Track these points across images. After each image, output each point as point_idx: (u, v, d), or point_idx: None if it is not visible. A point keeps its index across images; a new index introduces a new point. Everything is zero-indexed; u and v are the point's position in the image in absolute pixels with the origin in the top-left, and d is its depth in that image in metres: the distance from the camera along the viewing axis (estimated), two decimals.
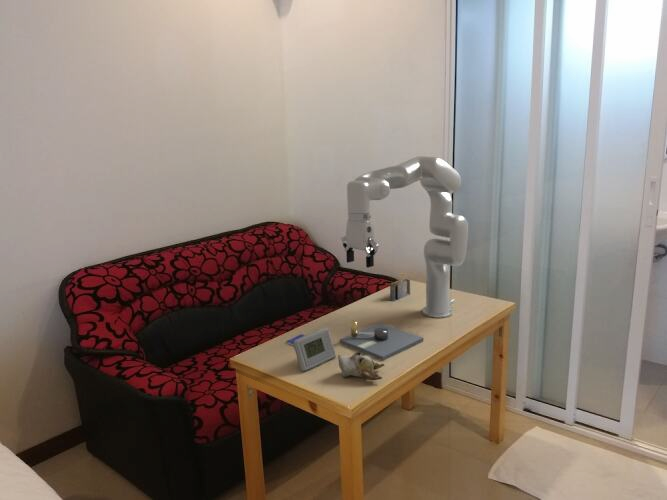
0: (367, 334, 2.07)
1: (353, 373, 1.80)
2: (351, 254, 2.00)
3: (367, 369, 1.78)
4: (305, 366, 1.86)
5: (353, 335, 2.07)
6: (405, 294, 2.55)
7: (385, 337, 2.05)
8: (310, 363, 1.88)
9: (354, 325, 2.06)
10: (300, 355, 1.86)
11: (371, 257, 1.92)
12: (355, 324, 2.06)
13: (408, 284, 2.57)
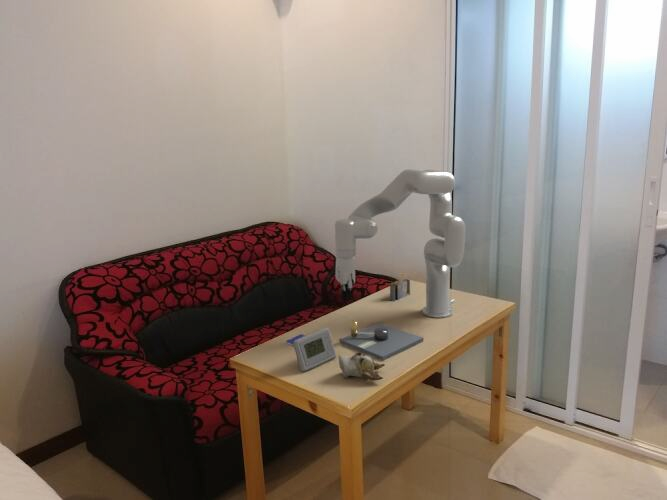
0: (367, 334, 2.07)
1: (354, 373, 1.80)
2: None
3: (368, 370, 1.78)
4: (305, 366, 1.86)
5: (353, 335, 2.07)
6: (405, 294, 2.55)
7: (385, 337, 2.05)
8: (310, 363, 1.88)
9: (354, 325, 2.06)
10: (300, 355, 1.86)
11: None
12: (355, 324, 2.06)
13: (408, 284, 2.57)
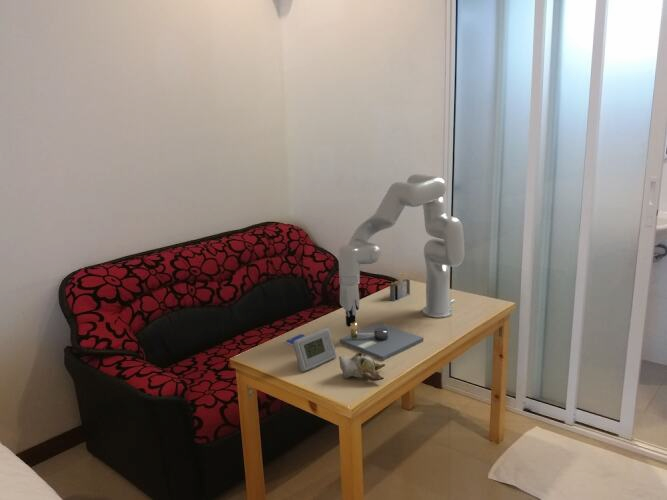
0: (367, 334, 2.07)
1: (355, 374, 1.79)
2: None
3: (369, 370, 1.78)
4: (305, 366, 1.86)
5: (353, 336, 2.06)
6: (405, 294, 2.55)
7: (385, 337, 2.05)
8: (310, 363, 1.88)
9: (354, 326, 2.05)
10: (300, 355, 1.86)
11: None
12: (355, 325, 2.05)
13: (408, 284, 2.57)
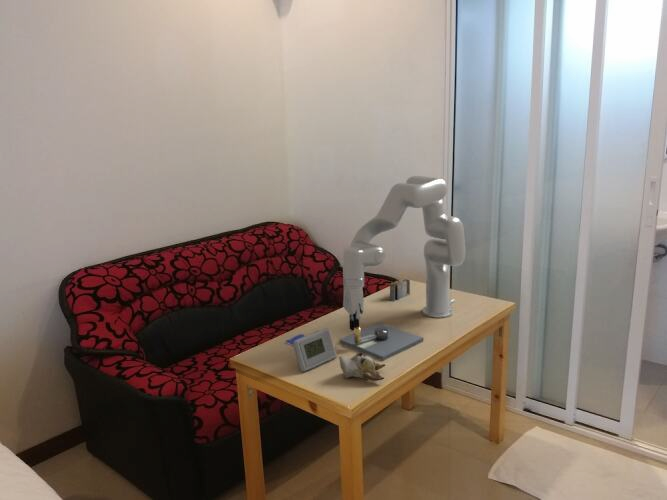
0: (370, 337, 2.04)
1: (355, 374, 1.79)
2: None
3: (369, 370, 1.78)
4: (305, 366, 1.86)
5: (358, 341, 2.02)
6: (405, 294, 2.55)
7: (387, 336, 2.06)
8: (310, 364, 1.87)
9: (359, 331, 2.01)
10: (300, 355, 1.86)
11: None
12: (360, 330, 2.01)
13: (408, 284, 2.57)
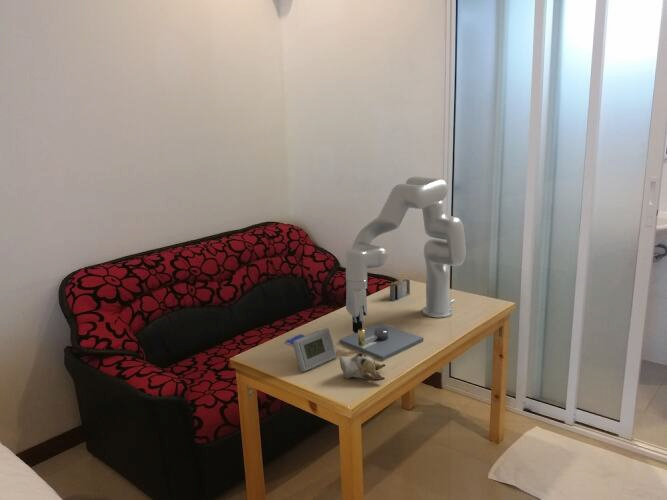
0: (372, 338, 2.03)
1: (355, 374, 1.79)
2: None
3: (369, 370, 1.78)
4: (305, 367, 1.86)
5: (363, 343, 2.00)
6: (405, 294, 2.55)
7: (387, 335, 2.07)
8: (310, 364, 1.87)
9: (364, 333, 1.99)
10: (300, 355, 1.86)
11: None
12: (364, 332, 1.99)
13: (408, 284, 2.57)
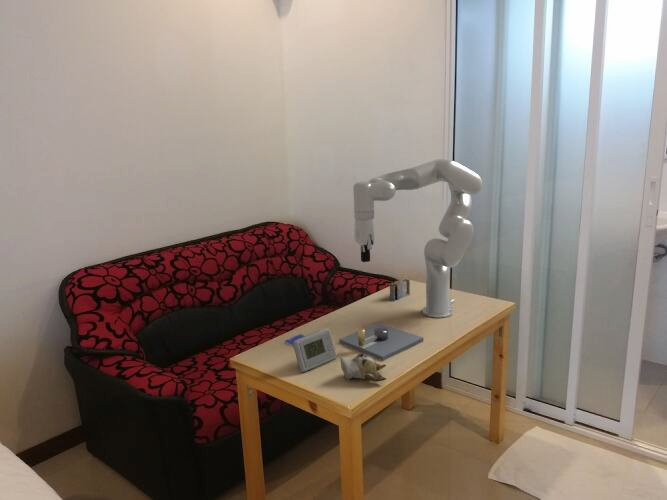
0: (372, 338, 2.03)
1: (356, 375, 1.78)
2: None
3: (370, 371, 1.77)
4: (304, 367, 1.86)
5: (363, 343, 2.00)
6: (405, 294, 2.55)
7: (387, 335, 2.07)
8: (310, 364, 1.87)
9: (364, 333, 1.99)
10: (299, 356, 1.86)
11: None
12: (364, 332, 1.99)
13: (408, 284, 2.57)
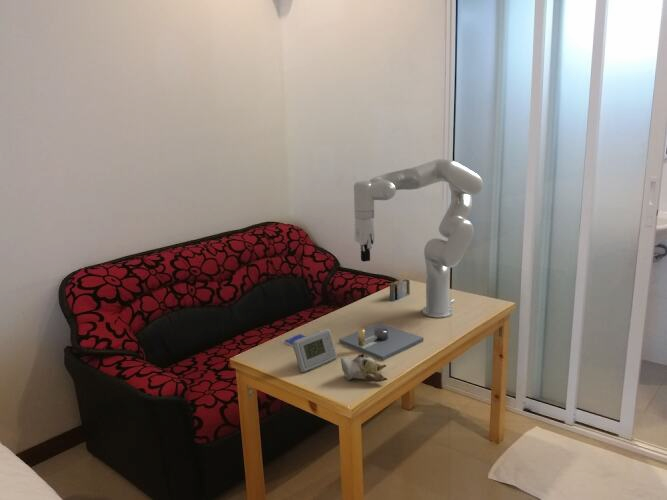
0: (372, 338, 2.03)
1: (357, 376, 1.78)
2: None
3: (371, 371, 1.77)
4: (304, 367, 1.86)
5: (363, 343, 2.00)
6: (405, 294, 2.55)
7: (387, 335, 2.07)
8: (309, 364, 1.87)
9: (364, 333, 1.99)
10: (299, 356, 1.85)
11: None
12: (364, 332, 1.99)
13: (408, 284, 2.57)
